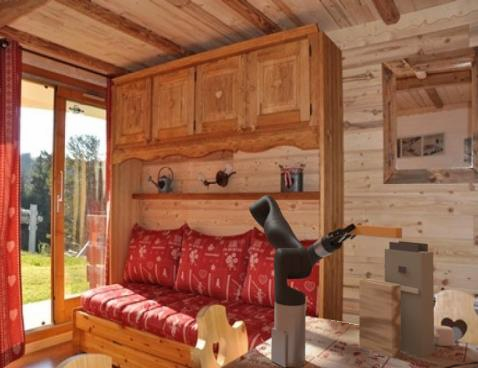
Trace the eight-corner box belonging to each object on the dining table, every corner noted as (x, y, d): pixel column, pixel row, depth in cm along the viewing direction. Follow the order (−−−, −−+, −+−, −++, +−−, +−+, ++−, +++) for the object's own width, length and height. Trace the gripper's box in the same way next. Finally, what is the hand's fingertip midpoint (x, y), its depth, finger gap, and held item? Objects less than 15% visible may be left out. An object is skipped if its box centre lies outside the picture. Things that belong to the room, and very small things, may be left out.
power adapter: (420, 345, 130) (420, 328, 131) (415, 340, 135) (415, 323, 136) (455, 347, 129) (455, 329, 129) (449, 342, 134) (449, 325, 134)
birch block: (391, 357, 120) (391, 286, 121) (359, 345, 130) (359, 280, 131) (401, 353, 123) (400, 284, 124) (368, 342, 132) (368, 278, 134)
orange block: (395, 238, 131) (395, 228, 131) (344, 233, 149) (344, 224, 149) (401, 238, 133) (401, 227, 133) (350, 233, 151) (350, 224, 151)
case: (421, 358, 119) (420, 245, 121) (384, 345, 130) (384, 241, 132) (434, 353, 124) (433, 244, 126) (397, 341, 134) (396, 240, 136)
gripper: (311, 236, 155) (341, 216, 143) (335, 236, 163) (365, 216, 152) (318, 254, 152) (349, 235, 140) (342, 252, 160) (373, 234, 148)
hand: (357, 225), depth 146 cm, fingers closed on orange block, 3 cm apart
